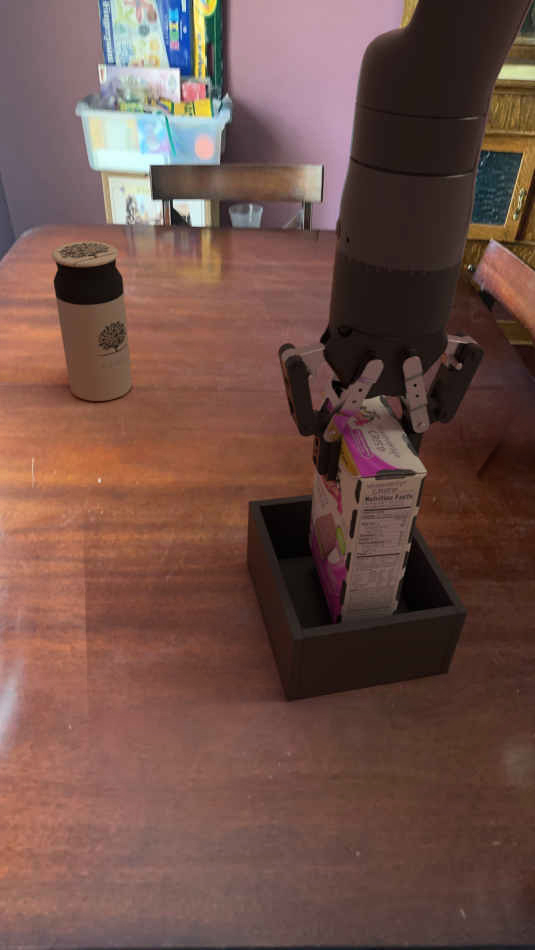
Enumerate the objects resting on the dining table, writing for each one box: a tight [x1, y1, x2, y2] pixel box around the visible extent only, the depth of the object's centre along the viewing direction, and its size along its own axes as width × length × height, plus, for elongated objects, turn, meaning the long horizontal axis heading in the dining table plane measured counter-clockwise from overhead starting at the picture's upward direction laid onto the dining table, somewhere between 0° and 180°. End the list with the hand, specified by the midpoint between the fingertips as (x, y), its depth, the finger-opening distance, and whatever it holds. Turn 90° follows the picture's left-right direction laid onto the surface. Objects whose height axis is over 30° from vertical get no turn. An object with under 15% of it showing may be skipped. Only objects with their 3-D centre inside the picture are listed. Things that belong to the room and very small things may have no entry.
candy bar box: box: [308, 389, 428, 624], centre depth 53 cm, size 11×5×16 cm, turn 9°
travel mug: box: [51, 240, 133, 402], centre depth 83 cm, size 8×8×18 cm
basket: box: [246, 493, 469, 702], centre depth 58 cm, size 14×16×8 cm
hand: (363, 469), depth 50 cm, fingers closed on candy bar box, 5 cm apart
